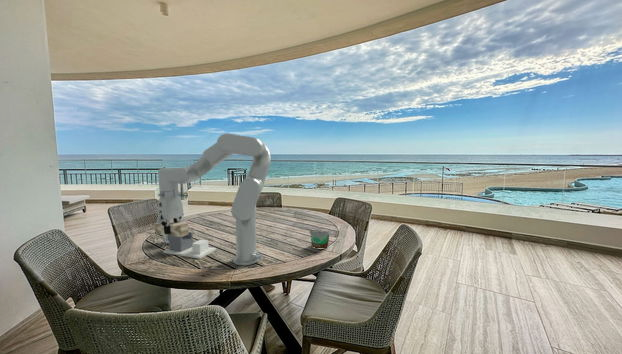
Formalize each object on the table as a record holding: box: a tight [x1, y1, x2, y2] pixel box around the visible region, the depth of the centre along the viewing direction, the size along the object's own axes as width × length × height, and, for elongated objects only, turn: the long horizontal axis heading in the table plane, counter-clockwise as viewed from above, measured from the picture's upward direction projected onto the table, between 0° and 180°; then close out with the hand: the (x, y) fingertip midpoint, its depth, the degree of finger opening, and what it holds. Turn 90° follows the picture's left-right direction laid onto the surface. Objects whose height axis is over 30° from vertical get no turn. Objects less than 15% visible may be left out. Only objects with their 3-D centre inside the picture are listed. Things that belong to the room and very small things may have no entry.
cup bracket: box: [162, 231, 217, 260], centre depth 125 cm, size 24×12×9 cm, turn 72°
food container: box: [308, 228, 331, 249], centre depth 130 cm, size 12×6×10 cm, turn 76°
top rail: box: [154, 221, 190, 237], centre depth 110 cm, size 16×4×5 cm, turn 72°
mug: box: [161, 235, 169, 245], centre depth 137 cm, size 13×9×10 cm
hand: (171, 232), depth 110 cm, fingers closed on top rail, 4 cm apart
